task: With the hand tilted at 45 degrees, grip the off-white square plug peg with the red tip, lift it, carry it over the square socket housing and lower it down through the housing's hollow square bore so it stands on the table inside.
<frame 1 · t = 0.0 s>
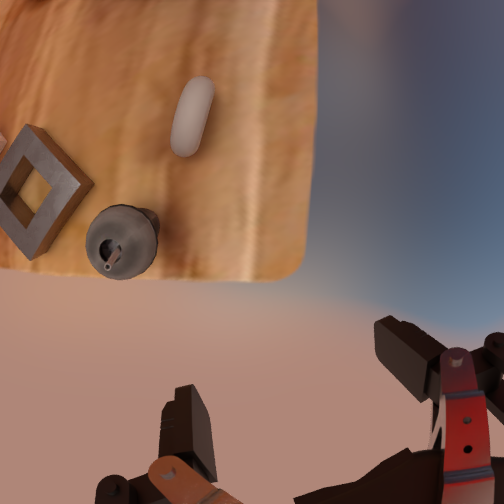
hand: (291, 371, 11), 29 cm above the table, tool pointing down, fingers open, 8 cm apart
donut: (193, 124, 35), on the table
square socket housing: (41, 190, 33), on the table
beverage cup: (143, 225, 37), on the table
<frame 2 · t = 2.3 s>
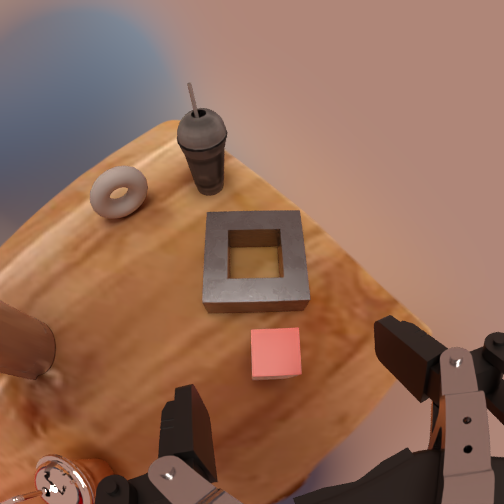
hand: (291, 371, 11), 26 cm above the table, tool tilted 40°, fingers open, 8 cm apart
donut: (129, 211, 47), on the table
square socket housing: (254, 268, 42), on the table
plug peg: (268, 363, 36), on the table
cup with straw: (99, 471, 27), on the table
beverage cup: (210, 185, 49), on the table
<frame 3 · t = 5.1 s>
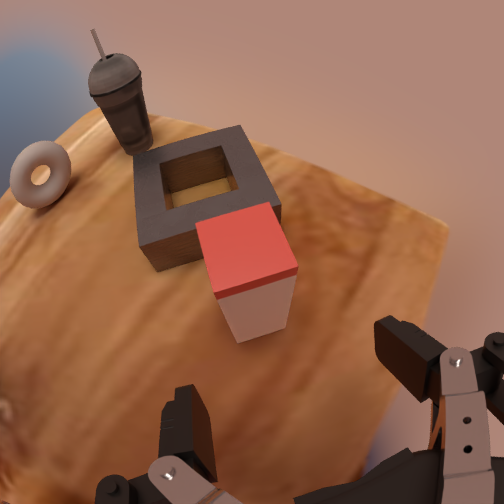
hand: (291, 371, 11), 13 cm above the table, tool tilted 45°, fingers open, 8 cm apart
donut: (57, 198, 35), on the table
square socket housing: (204, 205, 32), on the table
plug peg: (253, 313, 26), on the table
beverage cup: (139, 146, 39), on the table
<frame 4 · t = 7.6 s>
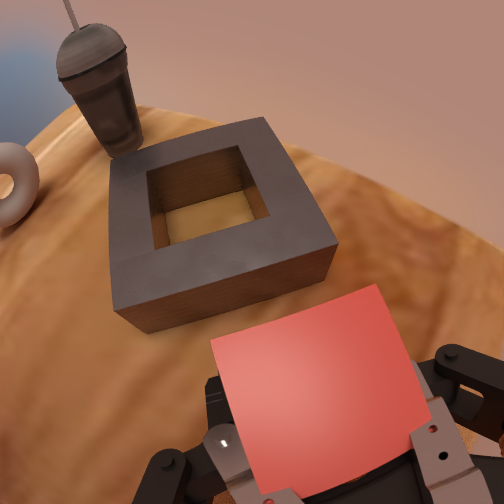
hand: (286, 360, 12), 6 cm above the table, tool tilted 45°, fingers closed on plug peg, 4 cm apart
donut: (25, 214, 26), on the table
square socket housing: (212, 232, 23), on the table
plug peg: (290, 401, 16), on the table, touching gripper
beverage cup: (125, 146, 30), on the table
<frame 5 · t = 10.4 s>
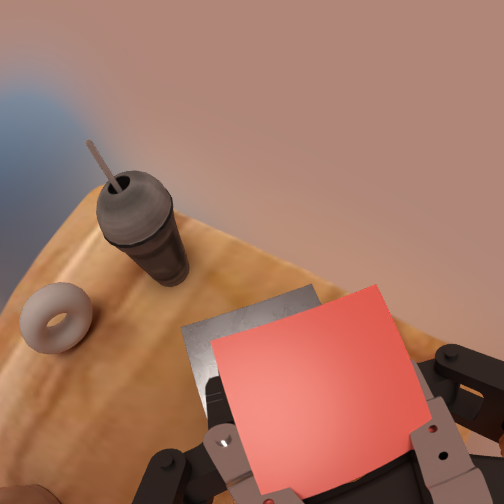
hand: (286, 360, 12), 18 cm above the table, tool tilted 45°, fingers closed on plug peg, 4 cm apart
donut: (80, 332, 31), on the table
square socket housing: (270, 376, 28), on the table
plug peg: (290, 401, 16), point 12 cm above the table, touching gripper
beverage cup: (171, 270, 35), on the table
when the fingers open (8 cm above the table, at t = 13.5 s): plug peg drops 2 cm, resting in square socket housing.
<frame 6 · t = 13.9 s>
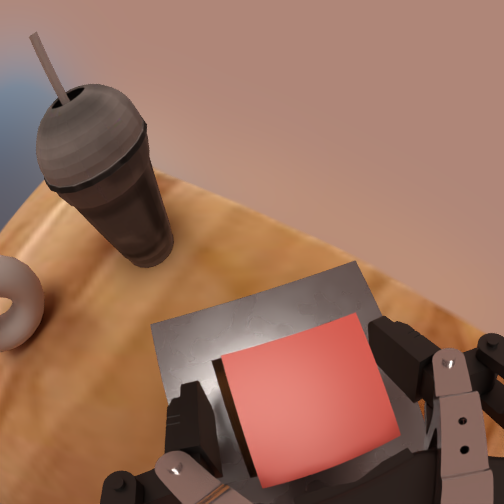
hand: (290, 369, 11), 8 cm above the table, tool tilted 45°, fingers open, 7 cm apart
donut: (33, 327, 21), on the table
square socket housing: (287, 401, 18), on the table
plug peg: (287, 402, 18), resting in square socket housing
beverage cup: (150, 246, 25), on the table
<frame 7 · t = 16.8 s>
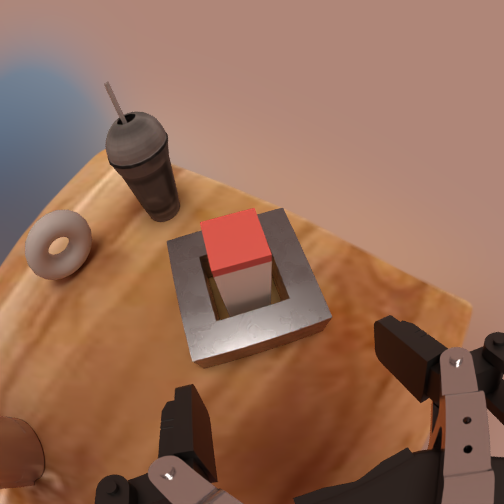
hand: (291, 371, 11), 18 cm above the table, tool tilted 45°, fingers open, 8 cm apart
donut: (78, 265, 35), on the table
square socket housing: (245, 295, 32), on the table
plug peg: (245, 296, 32), resting in square socket housing
beverage cup: (164, 209, 39), on the table
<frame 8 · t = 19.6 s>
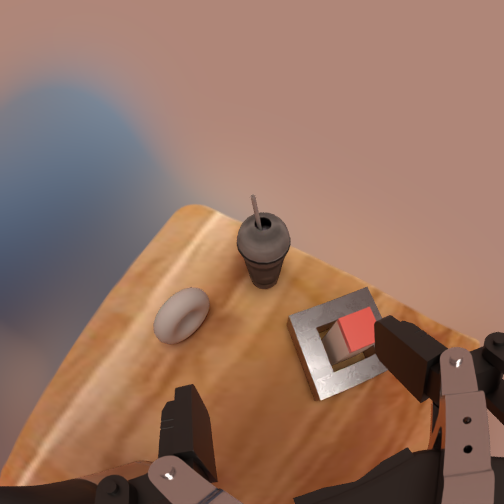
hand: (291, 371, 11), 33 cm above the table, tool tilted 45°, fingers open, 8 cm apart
donut: (190, 326, 46), on the table
square socket housing: (339, 347, 42), on the table
plug peg: (338, 348, 42), resting in square socket housing
beverage cup: (264, 277, 49), on the table
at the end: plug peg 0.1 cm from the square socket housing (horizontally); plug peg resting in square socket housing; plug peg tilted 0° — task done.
